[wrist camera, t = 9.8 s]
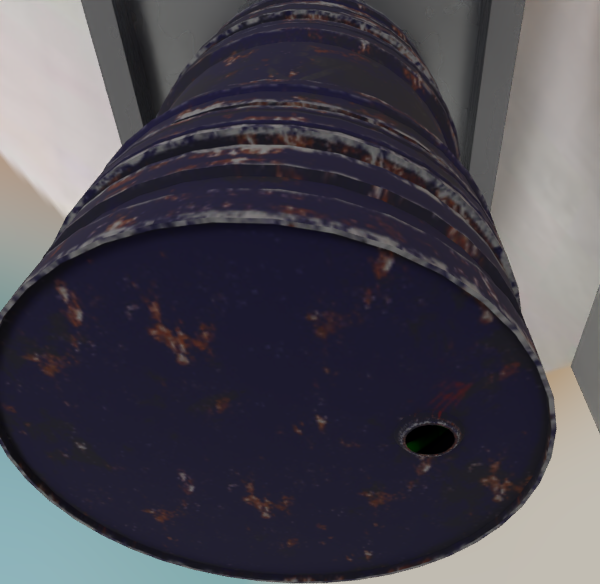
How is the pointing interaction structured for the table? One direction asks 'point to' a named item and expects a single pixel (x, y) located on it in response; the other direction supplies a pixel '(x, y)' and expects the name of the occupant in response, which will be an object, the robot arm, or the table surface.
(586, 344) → the robot arm
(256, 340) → the dark navy cylinder
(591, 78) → the table surface
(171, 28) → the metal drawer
